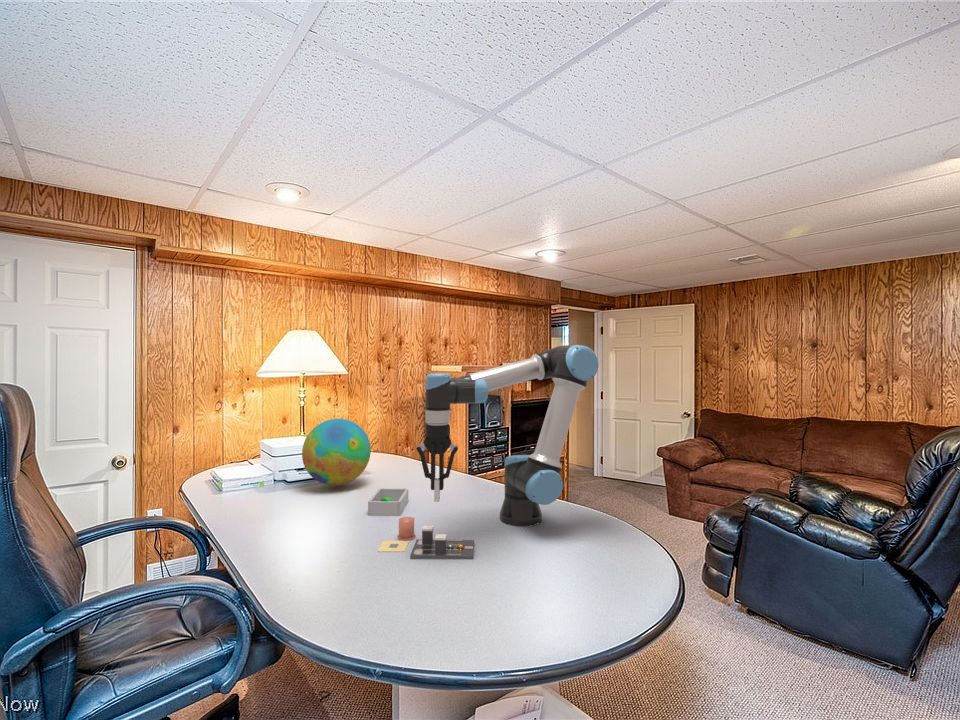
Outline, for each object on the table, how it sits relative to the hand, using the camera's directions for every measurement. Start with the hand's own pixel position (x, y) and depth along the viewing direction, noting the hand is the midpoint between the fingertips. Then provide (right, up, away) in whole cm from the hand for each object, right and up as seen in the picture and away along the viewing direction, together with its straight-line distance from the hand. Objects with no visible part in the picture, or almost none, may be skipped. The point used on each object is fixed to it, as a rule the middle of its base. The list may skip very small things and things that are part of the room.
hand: (437, 500), depth 143 cm
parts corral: (-22, -14, +37) cm, 45 cm away
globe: (-52, -14, +71) cm, 89 cm away
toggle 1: (-3, -13, -1) cm, 13 cm away
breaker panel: (+2, -14, -4) cm, 15 cm away
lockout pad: (-13, -14, -1) cm, 19 cm away
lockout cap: (-10, -14, +7) cm, 19 cm away
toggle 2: (+2, -13, -8) cm, 15 cm away
